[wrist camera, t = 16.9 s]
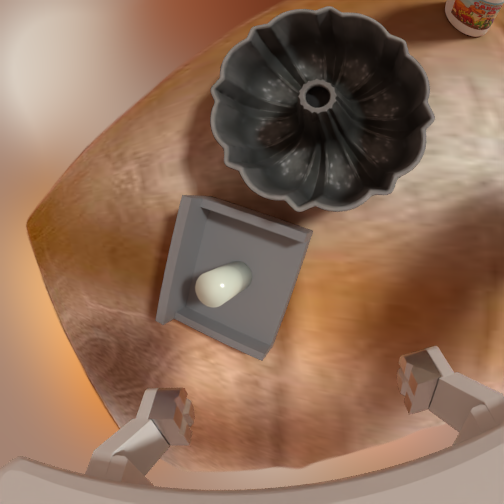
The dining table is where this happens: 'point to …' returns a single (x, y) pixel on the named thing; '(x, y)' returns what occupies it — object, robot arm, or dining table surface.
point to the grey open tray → (223, 252)
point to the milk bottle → (472, 15)
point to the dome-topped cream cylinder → (223, 283)
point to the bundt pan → (321, 109)
